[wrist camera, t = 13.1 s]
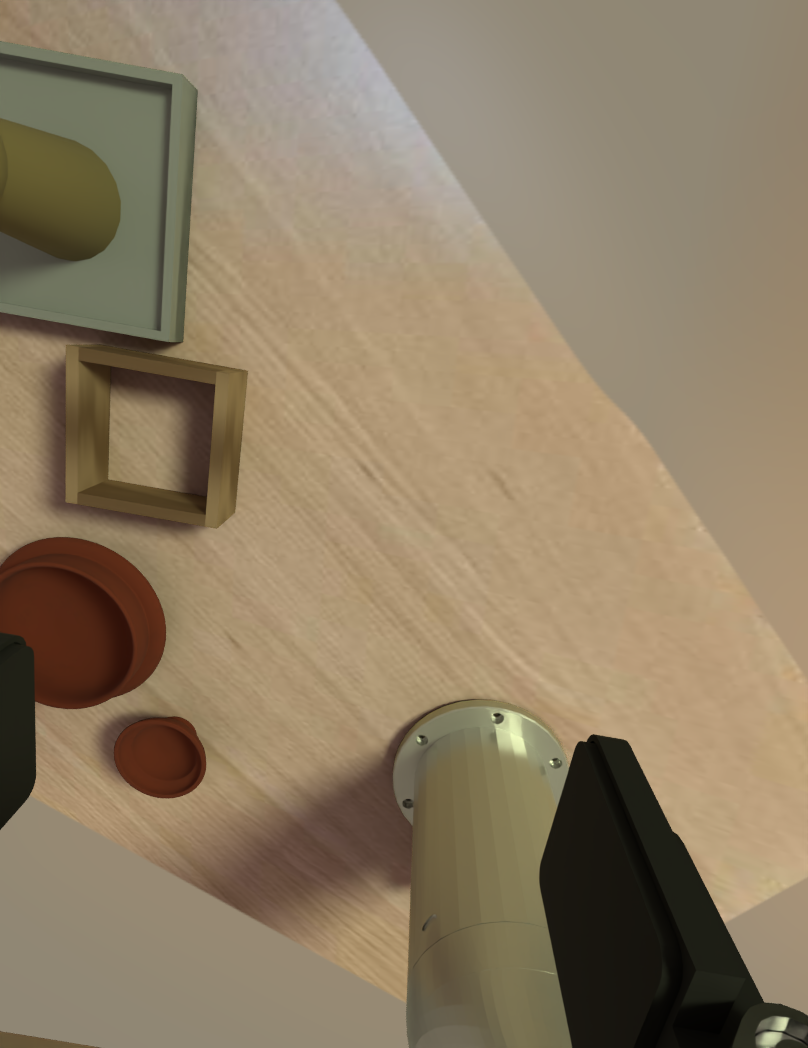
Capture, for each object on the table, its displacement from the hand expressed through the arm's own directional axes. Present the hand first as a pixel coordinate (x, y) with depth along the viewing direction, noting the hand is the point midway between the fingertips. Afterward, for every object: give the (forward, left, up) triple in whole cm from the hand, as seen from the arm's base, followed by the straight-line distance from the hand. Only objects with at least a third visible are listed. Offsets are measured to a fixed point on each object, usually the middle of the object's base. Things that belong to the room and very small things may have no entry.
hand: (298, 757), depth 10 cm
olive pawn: (+11, +20, -27) cm, 35 cm away
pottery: (-18, +16, -29) cm, 37 cm away
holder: (-1, +14, -28) cm, 32 cm away
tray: (+11, +20, -28) cm, 36 cm away
